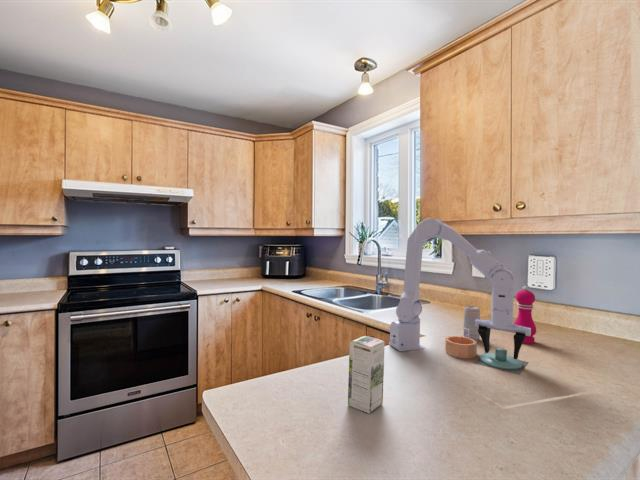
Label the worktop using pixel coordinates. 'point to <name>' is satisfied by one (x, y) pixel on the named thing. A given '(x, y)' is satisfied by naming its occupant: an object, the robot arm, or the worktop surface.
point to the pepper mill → (526, 312)
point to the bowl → (460, 347)
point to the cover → (501, 360)
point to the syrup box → (366, 373)
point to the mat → (503, 369)
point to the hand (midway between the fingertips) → (501, 354)
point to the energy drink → (471, 322)
